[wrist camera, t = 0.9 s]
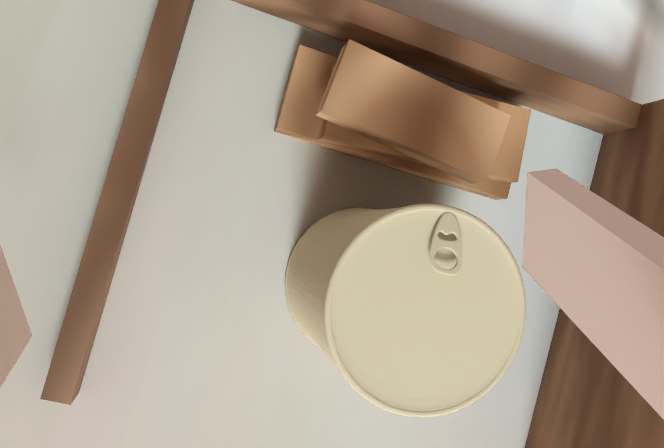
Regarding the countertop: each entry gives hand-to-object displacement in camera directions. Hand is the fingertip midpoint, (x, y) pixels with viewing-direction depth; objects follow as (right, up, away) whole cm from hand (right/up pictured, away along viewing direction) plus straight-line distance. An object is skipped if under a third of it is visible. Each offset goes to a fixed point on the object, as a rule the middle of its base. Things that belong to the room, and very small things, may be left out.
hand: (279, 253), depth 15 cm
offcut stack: (+6, +7, +22) cm, 24 cm away
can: (+3, -3, +21) cm, 22 cm away
